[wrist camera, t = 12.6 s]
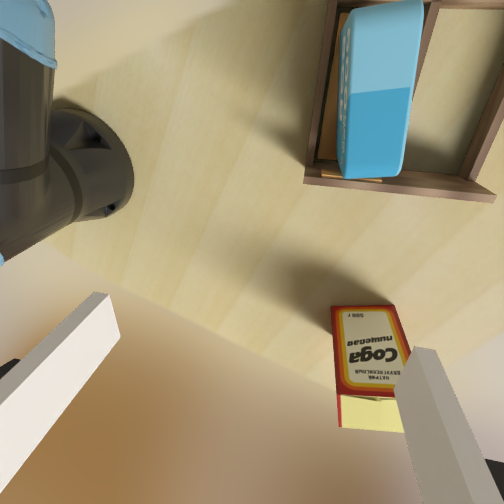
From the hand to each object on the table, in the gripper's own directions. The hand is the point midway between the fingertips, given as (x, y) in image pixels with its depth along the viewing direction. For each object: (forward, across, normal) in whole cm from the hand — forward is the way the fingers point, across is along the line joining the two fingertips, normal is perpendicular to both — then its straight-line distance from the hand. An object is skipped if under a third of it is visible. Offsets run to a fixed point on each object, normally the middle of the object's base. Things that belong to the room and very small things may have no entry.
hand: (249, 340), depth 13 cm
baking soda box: (+29, +14, -23) cm, 39 cm away
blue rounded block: (+29, +6, +9) cm, 31 cm away
